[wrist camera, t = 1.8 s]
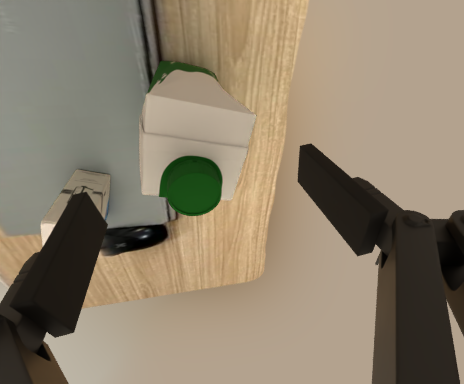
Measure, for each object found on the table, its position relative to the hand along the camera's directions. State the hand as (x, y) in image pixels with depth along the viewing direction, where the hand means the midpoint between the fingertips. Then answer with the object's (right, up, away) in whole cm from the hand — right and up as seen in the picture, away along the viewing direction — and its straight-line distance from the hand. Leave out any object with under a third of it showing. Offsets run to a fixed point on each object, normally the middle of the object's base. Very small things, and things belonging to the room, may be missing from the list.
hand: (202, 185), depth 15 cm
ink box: (-21, -1, +23) cm, 31 cm away
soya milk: (-5, +13, +17) cm, 22 cm away
